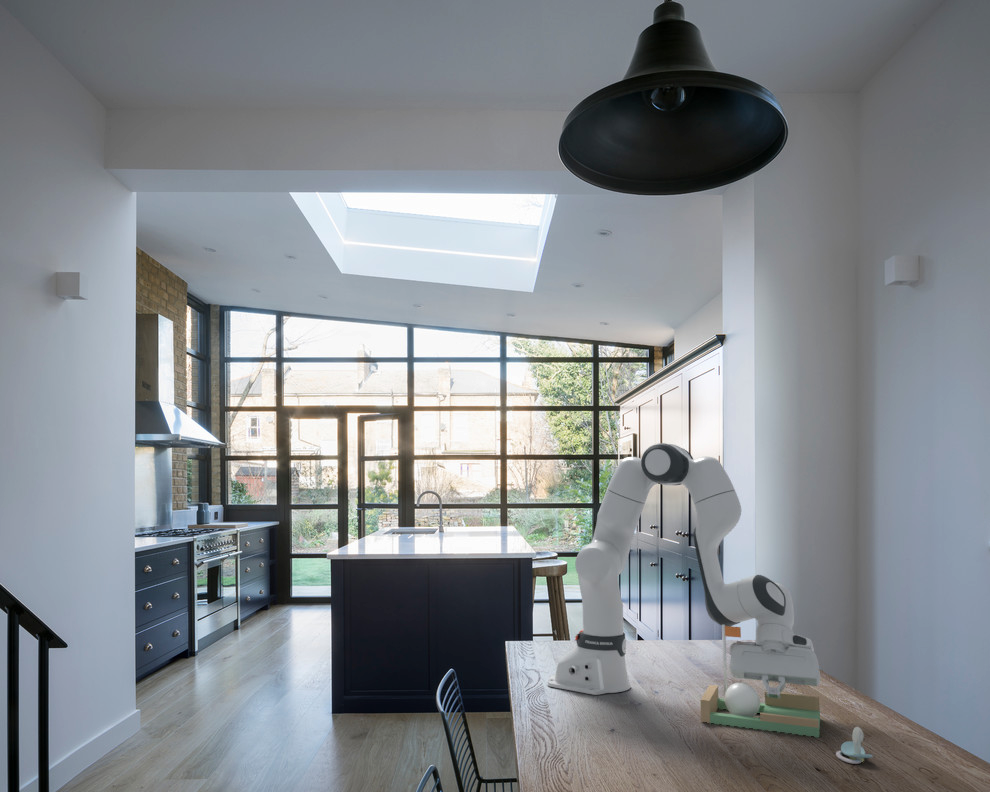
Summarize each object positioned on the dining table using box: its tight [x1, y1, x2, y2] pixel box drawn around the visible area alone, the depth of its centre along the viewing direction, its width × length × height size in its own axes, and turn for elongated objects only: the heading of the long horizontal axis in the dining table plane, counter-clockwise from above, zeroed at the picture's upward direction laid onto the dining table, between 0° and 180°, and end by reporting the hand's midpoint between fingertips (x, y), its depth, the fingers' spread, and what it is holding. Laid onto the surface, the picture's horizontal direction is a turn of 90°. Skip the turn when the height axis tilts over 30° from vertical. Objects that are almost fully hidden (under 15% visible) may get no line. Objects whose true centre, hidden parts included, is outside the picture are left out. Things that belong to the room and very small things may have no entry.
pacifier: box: [835, 726, 873, 765], centre depth 147 cm, size 7×6×6 cm
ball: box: [724, 682, 761, 717], centre depth 173 cm, size 8×8×8 cm
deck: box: [700, 625, 821, 738], centre depth 172 cm, size 25×14×20 cm, turn 65°
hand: (773, 696), depth 170 cm, fingers closed
